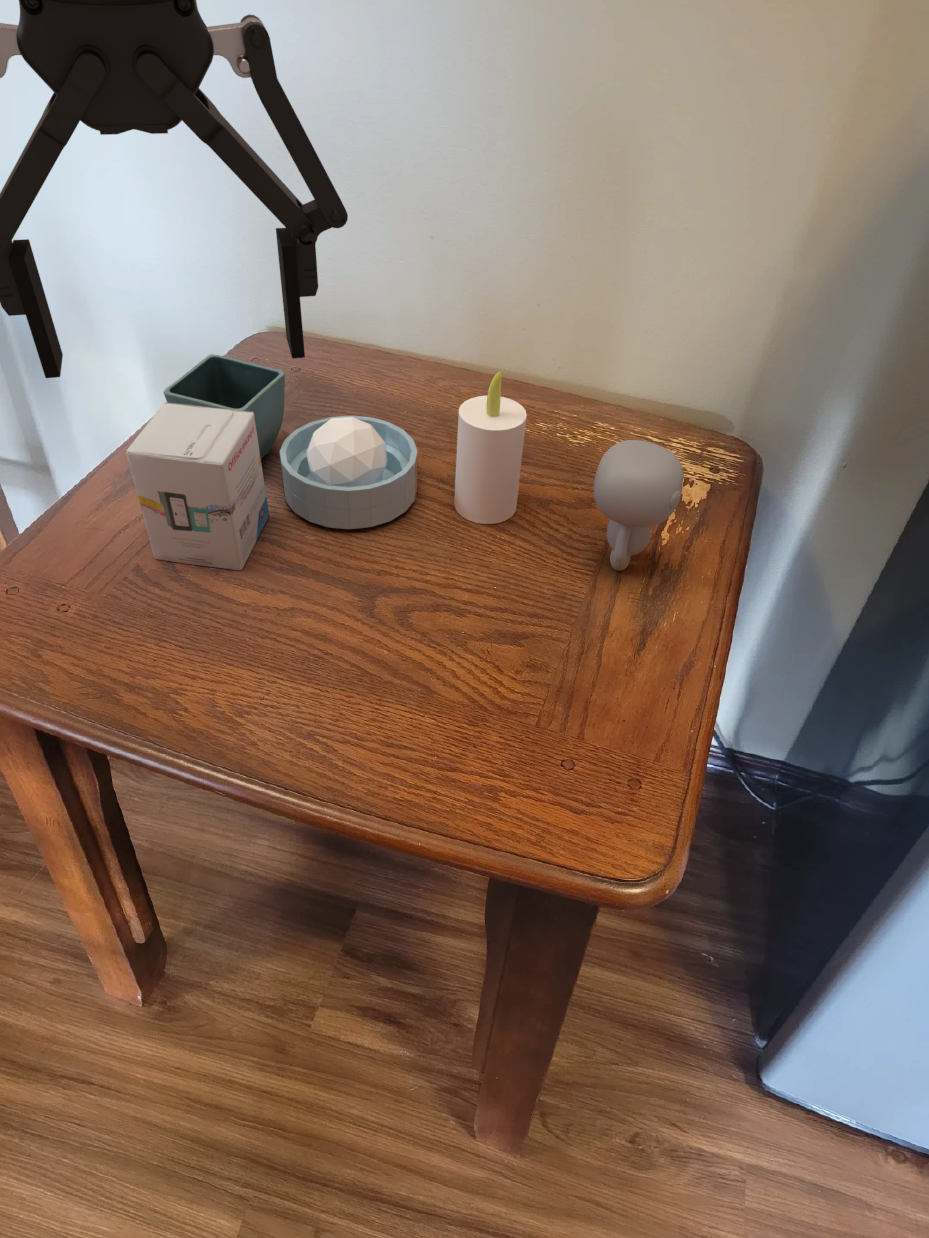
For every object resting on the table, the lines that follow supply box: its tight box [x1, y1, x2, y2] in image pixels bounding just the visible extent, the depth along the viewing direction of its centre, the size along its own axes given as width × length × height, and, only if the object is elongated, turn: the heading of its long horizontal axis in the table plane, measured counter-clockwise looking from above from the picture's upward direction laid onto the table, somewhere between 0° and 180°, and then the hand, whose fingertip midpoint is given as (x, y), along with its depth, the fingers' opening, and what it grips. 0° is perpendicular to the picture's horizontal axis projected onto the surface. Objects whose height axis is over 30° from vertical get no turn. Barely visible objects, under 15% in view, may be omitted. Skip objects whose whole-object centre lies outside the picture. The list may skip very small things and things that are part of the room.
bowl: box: [279, 415, 419, 530], centre depth 84 cm, size 13×13×5 cm
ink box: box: [125, 401, 270, 571], centre depth 76 cm, size 9×8×12 cm
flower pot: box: [162, 353, 286, 460], centre depth 87 cm, size 9×9×9 cm
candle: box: [453, 371, 527, 525], centre depth 81 cm, size 6×6×15 cm
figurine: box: [593, 439, 685, 572], centre depth 76 cm, size 8×8×12 cm
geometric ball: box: [306, 417, 388, 487], centre depth 83 cm, size 8×8×8 cm
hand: (178, 357), depth 50 cm, fingers open, 13 cm apart
